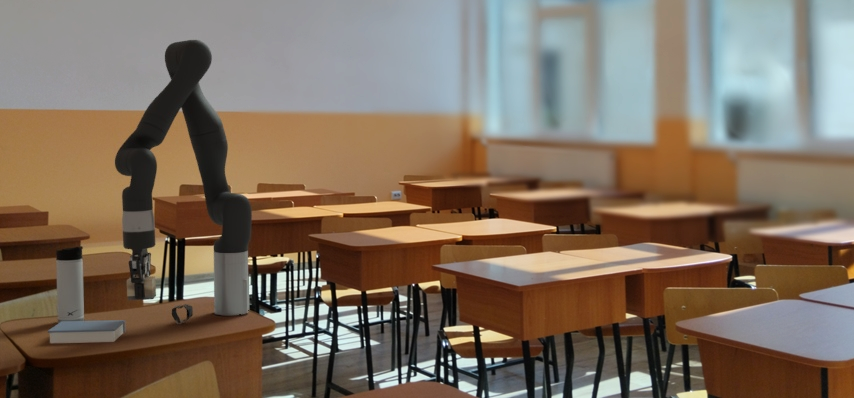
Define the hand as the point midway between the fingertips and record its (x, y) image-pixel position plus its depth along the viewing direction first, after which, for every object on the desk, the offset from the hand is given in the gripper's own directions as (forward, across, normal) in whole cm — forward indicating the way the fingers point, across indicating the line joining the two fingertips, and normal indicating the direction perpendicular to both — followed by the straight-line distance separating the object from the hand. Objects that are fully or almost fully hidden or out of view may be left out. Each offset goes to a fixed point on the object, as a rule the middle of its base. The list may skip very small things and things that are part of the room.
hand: (141, 296), depth 199 cm
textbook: (+9, -6, +12) cm, 16 cm away
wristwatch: (+9, +8, -8) cm, 15 cm away
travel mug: (+9, +12, +21) cm, 25 cm away
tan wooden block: (0, 0, 0) cm, 0 cm away
